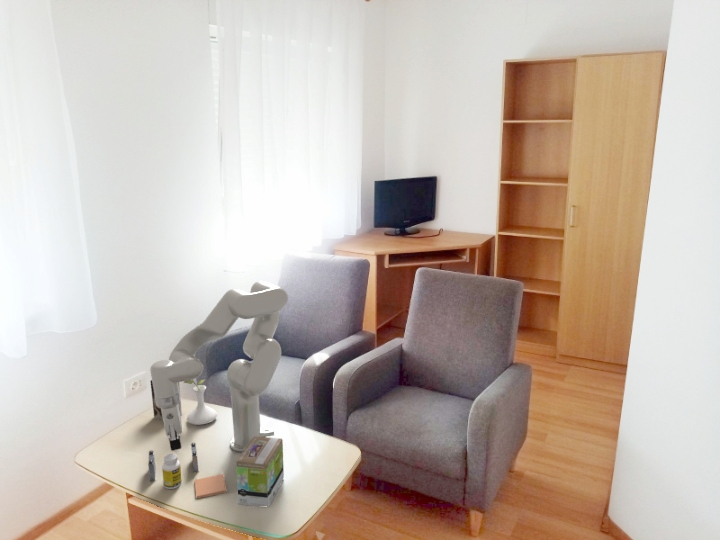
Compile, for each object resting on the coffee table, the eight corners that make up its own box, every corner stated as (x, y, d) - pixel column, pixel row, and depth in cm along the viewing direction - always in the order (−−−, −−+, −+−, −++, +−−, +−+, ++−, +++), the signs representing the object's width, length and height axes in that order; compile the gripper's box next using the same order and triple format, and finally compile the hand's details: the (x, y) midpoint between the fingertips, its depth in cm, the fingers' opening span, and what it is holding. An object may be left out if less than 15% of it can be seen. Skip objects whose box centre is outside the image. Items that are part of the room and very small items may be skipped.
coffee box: (153, 418, 217) (149, 380, 213) (164, 410, 223) (160, 374, 219) (172, 421, 214) (168, 383, 210) (182, 414, 220) (179, 377, 216)
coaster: (223, 476, 178) (223, 473, 178) (226, 492, 170) (226, 489, 170) (194, 482, 175) (194, 479, 175) (196, 498, 167) (196, 496, 167)
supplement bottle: (174, 491, 171) (171, 463, 168) (160, 487, 172) (157, 459, 170) (185, 481, 176) (183, 454, 173) (171, 477, 177) (168, 450, 175)
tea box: (269, 508, 162) (266, 464, 158) (237, 505, 164) (234, 461, 160) (285, 478, 176) (282, 437, 173) (255, 475, 178) (252, 434, 175)
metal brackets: (197, 458, 188) (195, 441, 186) (198, 471, 181) (196, 453, 179) (150, 468, 183) (148, 450, 182) (150, 481, 176) (148, 463, 174)
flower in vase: (223, 416, 218) (218, 357, 212) (205, 429, 207) (200, 368, 202) (196, 410, 222) (190, 353, 217) (177, 424, 212) (171, 364, 206)
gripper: (180, 406, 170) (189, 457, 174) (179, 386, 183) (187, 434, 188) (155, 411, 167) (164, 463, 172) (155, 390, 181) (164, 439, 186)
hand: (176, 448), depth 180 cm, fingers closed
